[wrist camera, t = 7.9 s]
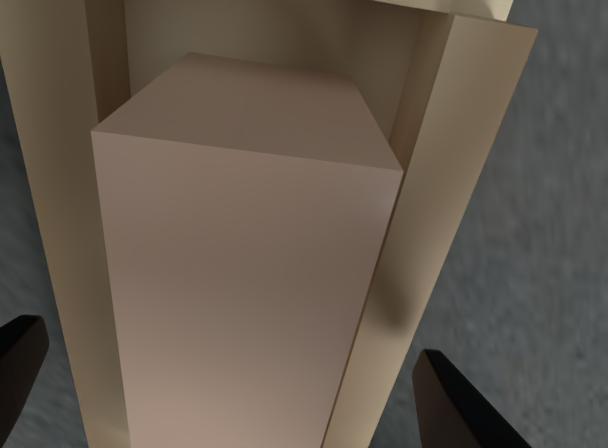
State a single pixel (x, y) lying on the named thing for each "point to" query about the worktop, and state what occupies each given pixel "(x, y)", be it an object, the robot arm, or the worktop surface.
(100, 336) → the tray
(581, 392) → the worktop surface
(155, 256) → the clay bar
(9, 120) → the worktop surface
